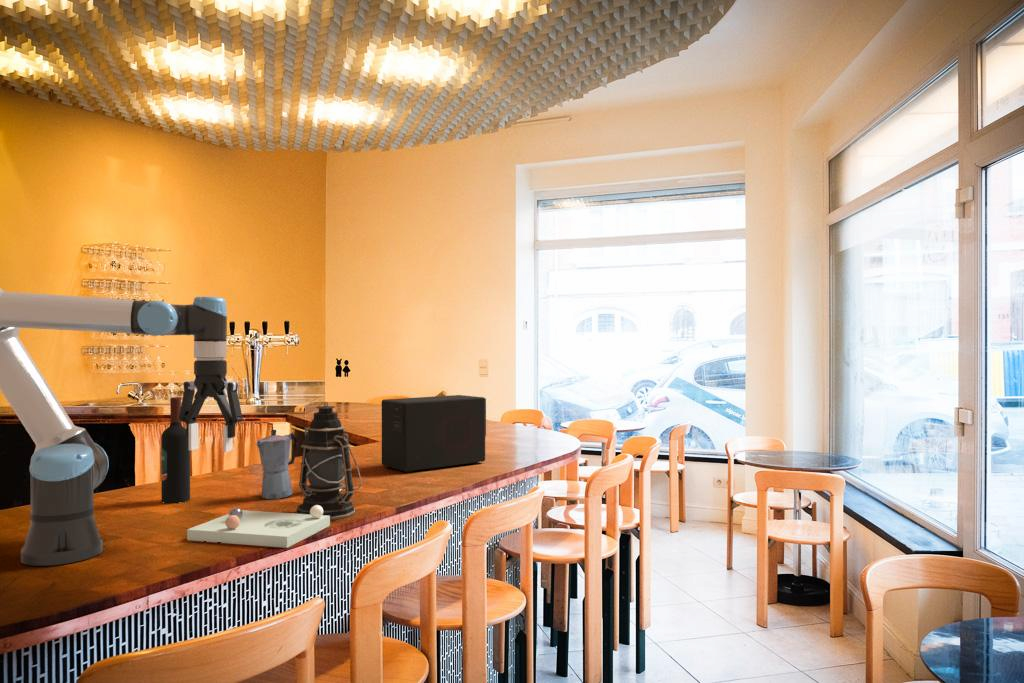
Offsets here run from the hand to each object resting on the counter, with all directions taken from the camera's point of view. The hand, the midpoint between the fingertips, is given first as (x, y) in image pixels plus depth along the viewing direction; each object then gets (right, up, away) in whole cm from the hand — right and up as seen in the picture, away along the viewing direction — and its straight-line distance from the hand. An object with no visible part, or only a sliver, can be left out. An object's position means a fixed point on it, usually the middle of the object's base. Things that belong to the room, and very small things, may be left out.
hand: (210, 450), depth 180 cm
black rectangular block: (+45, -19, +92) cm, 104 cm away
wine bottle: (-23, -20, +31) cm, 44 cm away
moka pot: (+4, -20, +38) cm, 43 cm away
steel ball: (+7, -15, -2) cm, 17 cm away
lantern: (+24, -20, +16) cm, 35 cm away
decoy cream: (+26, -15, +1) cm, 30 cm away
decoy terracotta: (+9, -15, -9) cm, 20 cm away
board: (+14, -19, -3) cm, 24 cm away
